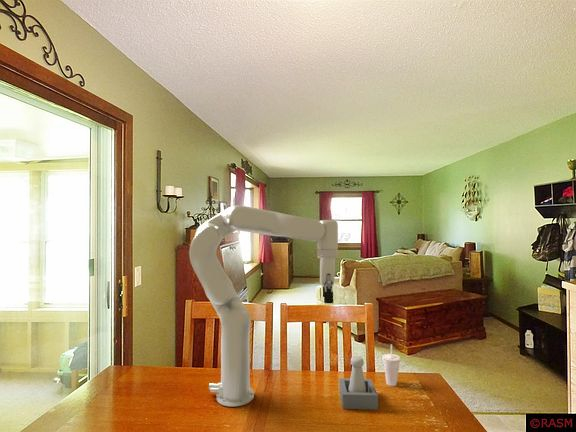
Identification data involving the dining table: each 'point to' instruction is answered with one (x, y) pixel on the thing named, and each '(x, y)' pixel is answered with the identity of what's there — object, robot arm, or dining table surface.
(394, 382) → the smoothie
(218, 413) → the dining table surface
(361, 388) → the salt shaker
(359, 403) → the socket holder
